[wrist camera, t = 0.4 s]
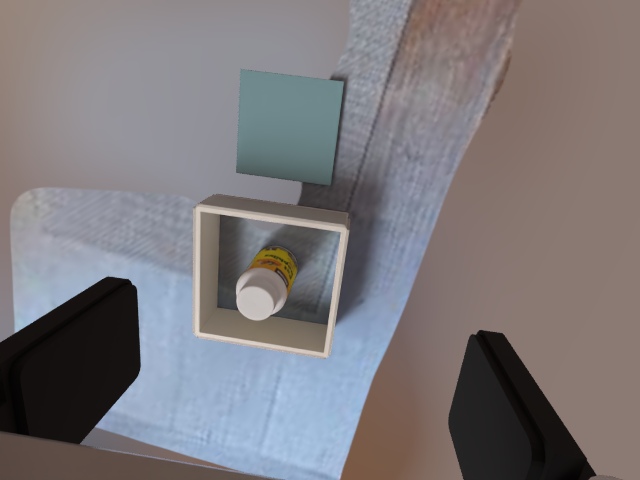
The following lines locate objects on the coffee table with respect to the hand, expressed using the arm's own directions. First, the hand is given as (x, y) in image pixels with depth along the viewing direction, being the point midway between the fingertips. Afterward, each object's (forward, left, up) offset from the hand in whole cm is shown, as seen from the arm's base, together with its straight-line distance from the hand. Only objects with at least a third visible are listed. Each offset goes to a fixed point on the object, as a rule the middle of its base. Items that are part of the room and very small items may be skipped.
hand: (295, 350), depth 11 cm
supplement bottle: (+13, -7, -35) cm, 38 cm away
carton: (+13, -7, -35) cm, 38 cm away
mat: (-3, -7, -35) cm, 35 cm away
